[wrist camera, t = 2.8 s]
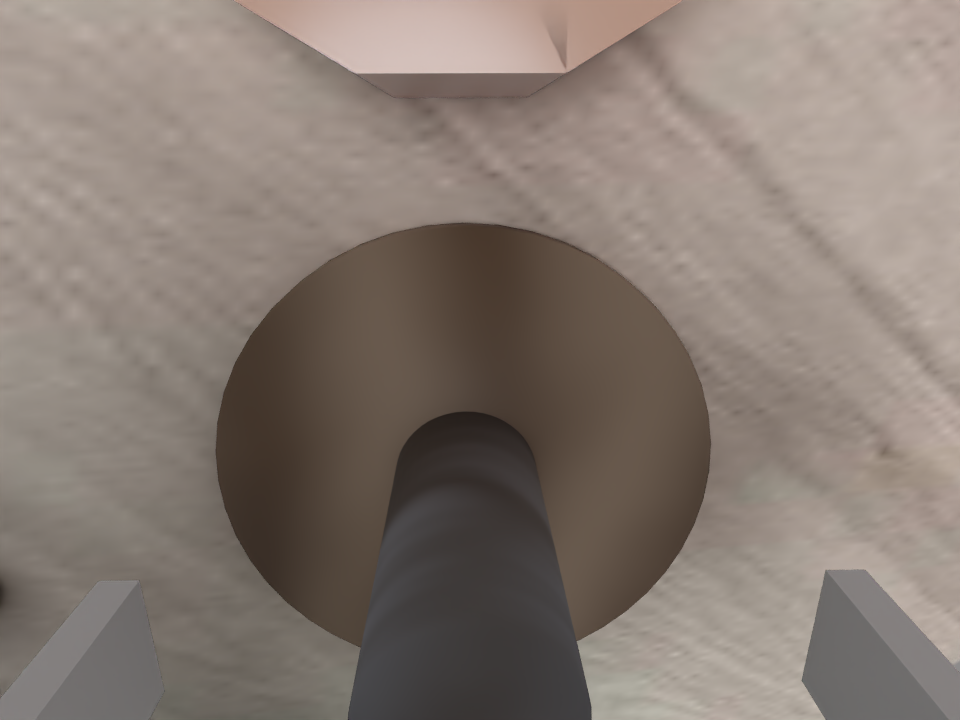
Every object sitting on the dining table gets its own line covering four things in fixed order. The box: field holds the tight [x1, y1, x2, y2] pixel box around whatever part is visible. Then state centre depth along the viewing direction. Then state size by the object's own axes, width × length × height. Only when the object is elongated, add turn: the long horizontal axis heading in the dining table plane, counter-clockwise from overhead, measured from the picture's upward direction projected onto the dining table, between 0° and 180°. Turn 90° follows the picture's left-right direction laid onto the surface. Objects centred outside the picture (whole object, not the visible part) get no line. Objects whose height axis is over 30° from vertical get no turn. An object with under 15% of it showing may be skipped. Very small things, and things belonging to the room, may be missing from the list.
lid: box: [216, 223, 711, 720], centre depth 15 cm, size 14×14×9 cm
